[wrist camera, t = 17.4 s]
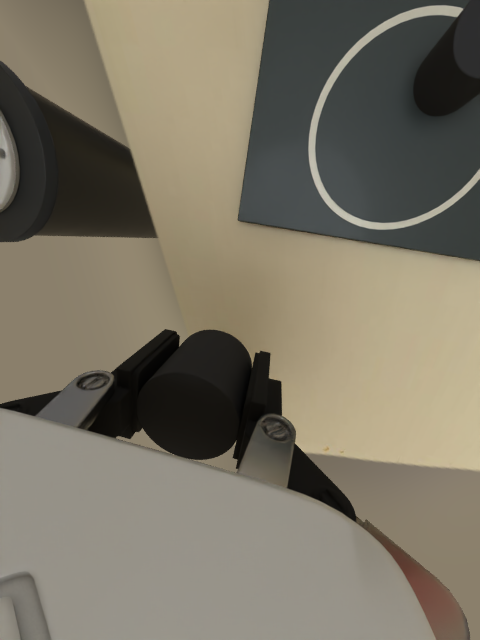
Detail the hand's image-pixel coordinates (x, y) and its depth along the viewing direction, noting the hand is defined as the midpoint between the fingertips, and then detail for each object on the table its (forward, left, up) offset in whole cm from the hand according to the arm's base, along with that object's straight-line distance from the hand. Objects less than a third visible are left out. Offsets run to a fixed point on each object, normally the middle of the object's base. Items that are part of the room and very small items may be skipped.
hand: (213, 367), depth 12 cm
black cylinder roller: (0, 0, 0) cm, 0 cm away
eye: (+10, +18, -11) cm, 24 cm away
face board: (+9, +15, -13) cm, 22 cm away
